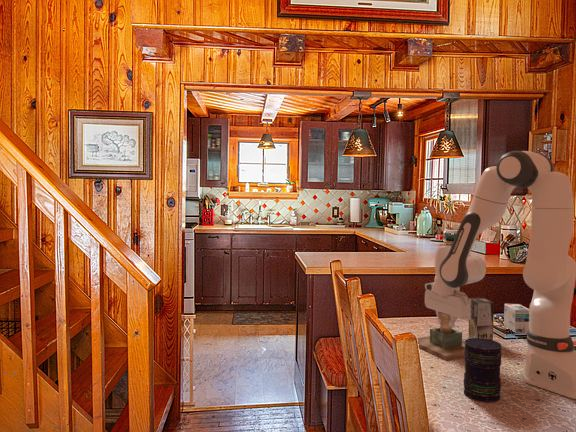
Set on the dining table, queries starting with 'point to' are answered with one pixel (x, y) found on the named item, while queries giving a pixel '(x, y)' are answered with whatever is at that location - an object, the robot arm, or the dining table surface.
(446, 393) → the dining table surface
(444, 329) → the peg
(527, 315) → the light bulb box
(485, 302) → the coffee box
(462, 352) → the holder
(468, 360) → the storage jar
